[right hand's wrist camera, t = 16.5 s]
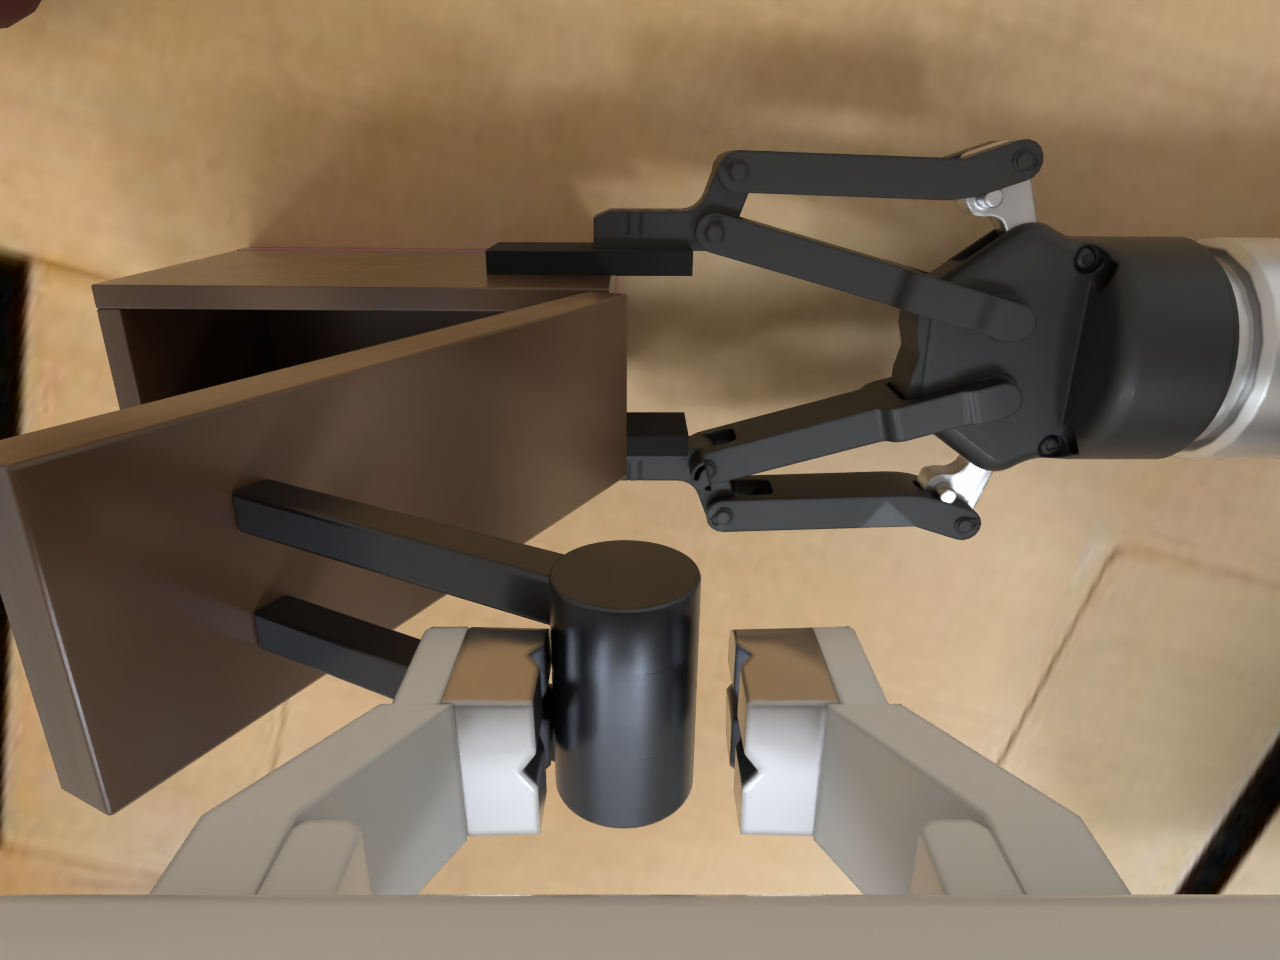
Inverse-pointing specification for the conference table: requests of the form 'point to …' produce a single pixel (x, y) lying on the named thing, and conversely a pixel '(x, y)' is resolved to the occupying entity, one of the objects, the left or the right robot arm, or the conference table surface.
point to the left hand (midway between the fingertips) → (500, 349)
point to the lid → (349, 554)
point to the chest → (296, 310)
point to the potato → (15, 11)
